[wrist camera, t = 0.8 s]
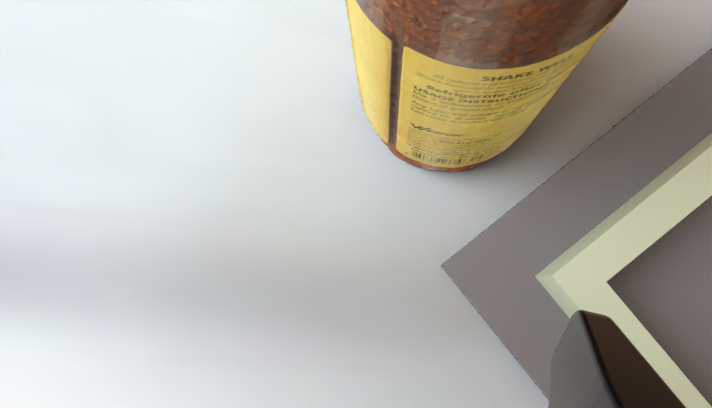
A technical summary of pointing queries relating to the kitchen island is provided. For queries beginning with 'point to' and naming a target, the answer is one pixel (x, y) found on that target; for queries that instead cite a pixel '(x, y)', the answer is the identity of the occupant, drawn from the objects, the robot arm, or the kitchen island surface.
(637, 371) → the robot arm
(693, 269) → the rubber mat
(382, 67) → the sauce bottle
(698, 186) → the bottle collar
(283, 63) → the kitchen island surface
